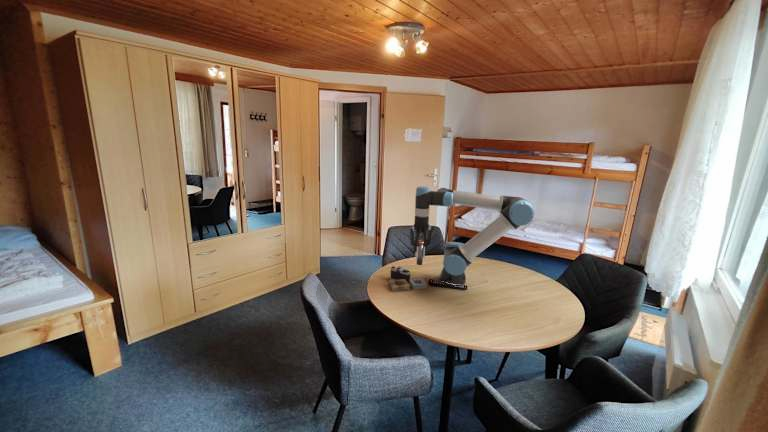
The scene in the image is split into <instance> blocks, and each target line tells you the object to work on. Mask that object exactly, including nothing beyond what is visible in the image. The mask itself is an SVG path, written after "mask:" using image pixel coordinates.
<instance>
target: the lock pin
mask: <svg viewBox="0 0 768 432" xmlns="http://www.w3.org/2000/svg"><path fill="white" fill-rule="evenodd" d="M423 245H424V241H423V239H418V244H417V246H418V258H416V265H418V266H422V265H423V259H424V258H423Z"/></svg>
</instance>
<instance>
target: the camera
mask: <svg viewBox="0 0 768 432" xmlns="http://www.w3.org/2000/svg"><path fill="white" fill-rule="evenodd" d="M411 275H412V273H411V271H410V270H408V269H406V268H405V267H403V266H400V265H398V266H397V267H396V266H394V265H392V266H391V267H390V280H397V279H406V281H407V282H408V284H409V279H411ZM409 285H410V284H409Z"/></svg>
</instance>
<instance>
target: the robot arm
mask: <svg viewBox="0 0 768 432" xmlns="http://www.w3.org/2000/svg"><path fill="white" fill-rule="evenodd" d="M415 190H416V191H415V203H414V204H415V207H414V208H415V209H414V224H413V226H411V227H410V226H409V228H408V230H409V236H410V237H409V238H410V239H409V240H410V245H411V246H413V252H414V257H415V258H416V259H417V258H418V246H417V244H418V240H420V239H419V237H420V236H421V234H422V240H423V241H424V244H423V259H425V256H426V252H427V250H428V249H427V248H428V246H430V245H431V242H432V241H431V240H432V234H433V231H434V227H433V226H430V225H429V221H430V219H429V218H430V217H429V216H430V206H435V207H436V206H437V207H452V206H453V204H454V205H460V206H466V207H472V208H477V209H486V210H491V211H497V212H498V214H499V216H497V218H496V219H495V220H493V221H492V222H490V224H487V226H486V227H484V228H483V229H482V230H480V231H479V232H478V233H477V234H475V235H474V236H473V237H472V238H470V239H469V240H468V241H467V242H466V243H463V242H458V241H457V242H456V241H449V242H448V241H447V242H445V243H444V245H445V246H444V252H443V253H444V255H443V263H442V264H443V268H442V269H441V271H440V274H439V281H440V280H441V281H444V282H448V283H453V284H462V285H461V286H463V285H465V284H466V283H467V282H466V280H467V278H466V273H465V271H466V270H467V267H469V266H471V265H472V264H473V263H474V259H475V257H477V256H478V255H479V254H481V253H482V252H483V251H485V250H486V249H487V248H488V247H490V246H491V245H493V244H494V243H495V242H497V241H498V240H499V239H500V238H502V237H503V236H504V235H506V234H507V233H508V232H510V231H511V230H513V231H516V230H517V229H519V228H520V227H522V226H526V225H528V224H530V223H531V222H532V221H533V219H534V217H535V209H534V207H533V205H532V203H530V202H529V201H528V200H526V199H525V198H524V197H520V196H509V195H500V196H496V195H489V194H488V195H487V194H481V193H475V192H469V191H462V190H456V189H448V188H446V187H440V188H438V190H436V191H435V190H431V187H430V186H424V185H423V186H417V187H416V188H415ZM414 231H415V232H414ZM427 231H428V232H427ZM441 281H440V282H441Z"/></svg>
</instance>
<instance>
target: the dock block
mask: <svg viewBox="0 0 768 432" xmlns="http://www.w3.org/2000/svg"><path fill="white" fill-rule="evenodd" d="M387 285H388V287H389V288H390V290H391V293H396V292H410V291H411V286H410V284H408V282H407V281H406V279H397V280H393V279H388V280H387Z"/></svg>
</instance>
